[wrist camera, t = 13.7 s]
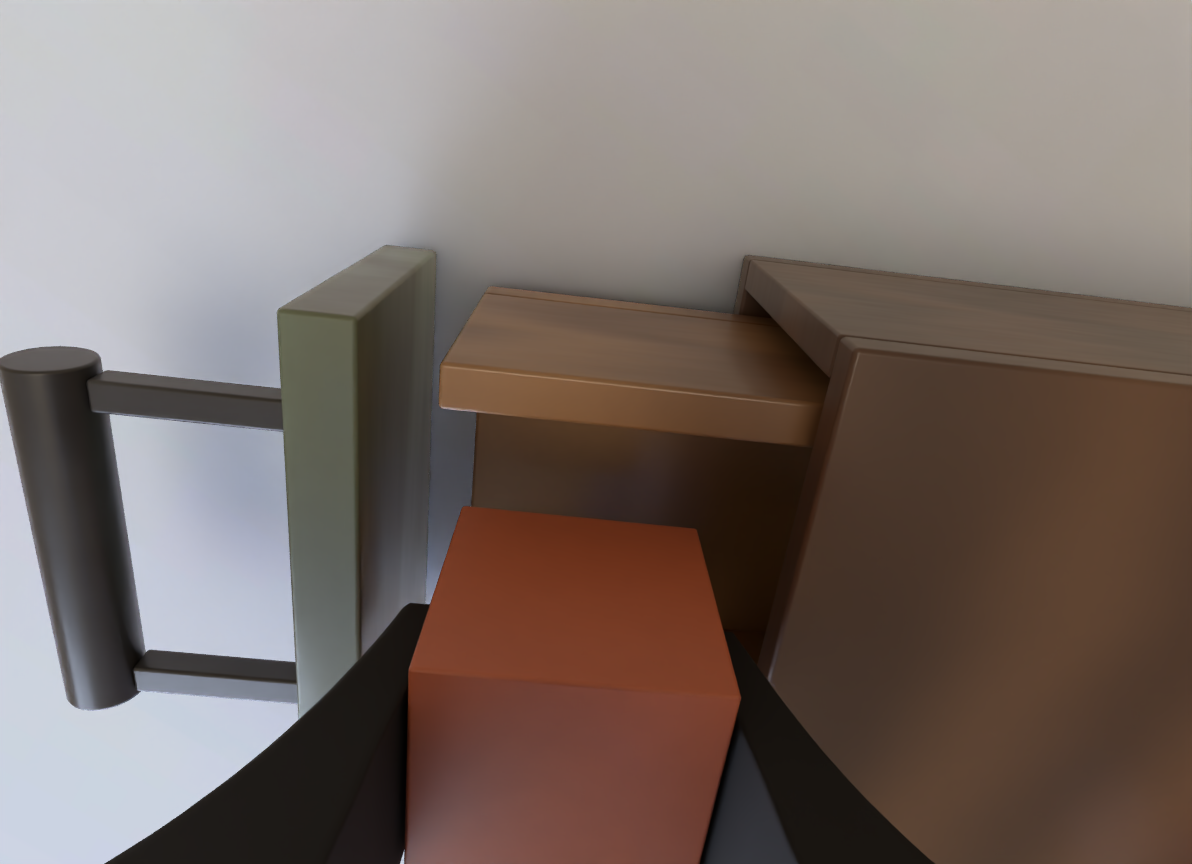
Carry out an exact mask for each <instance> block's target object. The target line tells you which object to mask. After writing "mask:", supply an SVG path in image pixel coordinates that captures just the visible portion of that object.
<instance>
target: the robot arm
mask: <svg viewBox="0 0 1192 864" xmlns="http://www.w3.org/2000/svg"><path fill="white" fill-rule="evenodd" d="M429 606H430V604H419V603H409V604H407V605H406V606H405V607H403V608H402V609H401V611H400V612H399V613H398V614H397V616H396V617H395V618H394V619H393V621H392V622H391V623H390V624H389V626H388V627H387V628H386V629H385V630H384V632H383V633H382V634H381V635H380V636H379V637H378V639H377V640H376V641H375V642H374V643H373V644H372V645H371V647H370V648H369V649H368V650H367V651H366V652H365V653H364V654H363V656H362V657H361V658H360V659H359V660H358V661H357V662H356V663H355V664H354V665H353V666H352V667H351V668H350V669H349V670H348V671H347V673H346V674H345V675H344V676H343V677H342V678H341V679H340V680H339V681H338V682H337V683H336V684H335V685H334V686H333V687H332V688H331V689H330V690H329V691H328V692H327V693H326V694H325V695H324V696H323V697H322V698H321V699H320V700H319V701H318V702H317V703H316V704H315V705H314V706H313V707H312V708H310V709H309V710H308V711H307V712H306V713H305V714H304V715H303V716H302V717H301V718H300V719H299V720H298V721H297V722H296V723H295V724H293V725H292V726H291V727H290V728H289V729H288V730H287V731H286V732H285V733H284V734H283V735H281V736H280V737H279V738H278V739H277V740H276V741H274V742H273V743H272V744H271V745H270V746H269V747H268V748H266V749H265V750H264V751H263V752H262V753H260V754H259V755H258V756H257V757H256V758H254V759H253V760H252V761H251V762H249V763H248V764H247V765H246V766H244V767H243V768H242V769H241V770H239V771H238V772H237V773H236V774H234V775H233V776H232V777H231V778H229V779H228V780H227V781H225V782H224V783H223V784H221V785H220V786H219V787H217V788H216V789H215V790H213V791H212V792H211V793H209V794H208V795H206V796H205V797H204V798H202V799H201V800H200V801H198V802H197V803H196V804H194V805H193V806H191V807H190V808H189V809H187V810H186V811H185V812H183V813H182V814H180V815H179V816H178V817H176V818H175V819H173V820H172V821H170V822H169V823H167V824H166V825H165V826H163V827H162V828H160V829H159V830H157V831H156V832H154V833H153V834H151V835H150V836H148V837H146V838H145V839H143V840H142V841H140V842H138V843H137V844H135V845H134V846H132V847H130V848H129V849H127V850H126V851H124V852H122V853H121V854H119V855H118V856H116V857H115V858H113V859H111V860H110V861H108V862H107V863H105V864H400V861H401V858H402V855H403V852H404V849H405V809H406V763H407V718H408V672H409V667H410V664H411V660H412V657H413V654H414V651H415V648H416V645H417V642H418V639H419V636H420V633H421V630H422V627H423V624H424V621H425V618H426V615H427V612H428V609H429ZM724 635H725V639H726V642H727V646H728V650H729V654H730V658H731V661H732V665H733V669H734V673H735V676H736V680H737V684H738V688H739V692H740V695H741V701H740V705H739V709H738V713H737V717H736V721H735V725H734V729H733V733H732V737H731V741H730V745H729V749H728V753H727V757H726V761H725V765H724V769H723V773H722V777H721V781H720V785H719V789H718V793H717V797H716V801H715V805H714V809H713V813H712V817H711V821H710V825H709V829H708V833H707V836H706V840H705V844H704V848H703V852H702V856H701V860H700V864H935V863H934V862H932V861H931V860H930V859H929V858H928V857H927V856H926V855H924V854H923V853H922V852H921V851H920V850H919V849H918V848H917V847H916V846H915V845H914V844H912V843H911V842H910V841H909V840H908V839H907V838H906V837H905V836H904V835H903V834H902V833H901V832H900V831H899V830H898V829H897V828H896V827H895V826H894V825H892V824H891V823H890V822H889V821H888V820H887V819H886V818H885V817H884V816H883V815H882V814H881V813H880V812H879V811H878V810H877V809H876V808H875V807H874V806H873V805H872V804H871V803H870V802H869V801H868V800H867V799H866V798H865V797H864V796H863V795H862V794H861V793H860V792H859V790H858V789H857V788H856V787H855V786H854V785H853V784H852V783H851V782H850V781H849V780H848V779H847V778H846V776H845V775H844V774H843V773H842V772H841V771H840V770H839V769H838V767H837V766H836V765H835V764H834V763H833V762H832V761H831V760H830V758H829V757H828V756H827V755H826V754H825V753H824V752H823V750H822V749H821V748H820V747H819V746H818V744H817V743H816V742H815V741H814V740H813V738H812V737H811V736H810V735H809V733H808V732H807V731H806V730H805V728H804V727H803V726H802V725H801V723H800V722H799V721H798V720H797V718H796V717H795V716H794V714H793V713H792V712H791V711H790V709H789V708H788V707H787V706H786V704H785V703H784V702H783V700H782V699H781V698H780V696H779V695H778V694H777V692H776V691H775V690H774V688H773V687H772V686H771V684H770V683H769V681H768V680H767V679H766V677H765V676H764V675H763V673H762V672H761V671H760V669H759V668H758V666H757V665H756V664H755V662H754V661H753V659H752V658H751V657H750V655H749V654H748V652H747V651H746V650H745V648H744V647H743V645H742V644H741V643H740V641H739V640H738V639H737V637H736V636H735V635H734V633H733V632H726V631H724Z"/></svg>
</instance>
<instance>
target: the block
mask: <svg viewBox="0 0 1192 864" xmlns="http://www.w3.org/2000/svg"><path fill="white" fill-rule="evenodd" d="M740 701H741V695H740V692H739V688H738V684H737V680H736V676H735V673H734V669H733V665H732V661H731V658H730V654H729V650H728V646H727V642H726V639H725V635H724V631H723V627H722V623H721V620H720V616H719V612H718V608H717V605H716V601H715V597H714V593H713V589H712V586H711V582H710V578H709V574H708V570H707V567H706V563H705V559H704V555H703V552H702V548H701V544H700V540H699V536H698V533H697V530H696V529H694V528H683V527H673V526H663V525H653V524H643V523H633V522H623V521H612V520H602V519H592V518H582V517H572V516H562V515H552V514H541V513H531V512H521V511H511V510H501V509H491V508H481V507H470V506H463V507H462V509H461V512H460V515H459V518H458V521H457V524H456V527H455V530H454V533H453V536H452V539H451V543H450V546H449V549H448V552H447V555H446V558H445V561H444V564H443V567H442V570H441V573H440V576H439V579H438V582H437V585H436V588H435V591H434V594H433V597H432V600H431V603H430V606H429V609H428V612H427V615H426V618H425V621H424V624H423V627H422V630H421V633H420V636H419V639H418V642H417V645H416V648H415V651H414V654H413V657H412V660H411V664H410V667H409V672H408V718H407V763H406V809H405V854H404V864H700V860H701V856H702V852H703V848H704V844H705V840H706V836H707V833H708V829H709V825H710V821H711V817H712V813H713V809H714V805H715V801H716V797H717V793H718V789H719V785H720V781H721V777H722V773H723V769H724V765H725V761H726V757H727V753H728V749H729V745H730V741H731V737H732V733H733V729H734V725H735V721H736V717H737V713H738V709H739V705H740Z"/></svg>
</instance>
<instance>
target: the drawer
mask: <svg viewBox="0 0 1192 864" xmlns="http://www.w3.org/2000/svg"><path fill="white" fill-rule="evenodd" d="M436 258H437V255H436V252H435V251H433V250H425V249H417V248H408V247H400V246H391V245H385V246H383V247H381V248H380V249H378V250H376V251H375V252H373V253H371V254H370V255H368V256H366V257H364V258H363V259H361V260H359V261H358V262H356V263H354V264H353V265H351V266H349V267H348V268H346V269H344V270H343V271H341V272H339V273H338V274H336V275H334V276H333V277H331V278H329V279H328V280H326V281H324V282H323V283H321V284H319V285H317V286H316V287H314V288H312V289H311V290H309V291H307V292H306V293H304V294H302V295H301V296H299V297H297V298H296V299H294V300H292V301H291V302H289V303H287V304H286V305H284V306H282V307H281V308H279V309H278V311H277V323H278V341H279V360H280V379H281V389H280V388H270V387H261V386H251V385H242V384H232V383H223V382H214V381H204V380H195V379H185V378H176V377H166V376H157V375H147V374H138V373H129V372H119V371H110V370H107V371H104V372H103V370H102V364H101V358H100V356H99V355H98V354H97V353H96V352H94V351H92V350H88V349H84V348H77V347H65V346H54V347H39V348H32V349H26V350H21V351H17V352H14V353H10V354H8V355H5V356H3V357H2V358H0V383H1V388H2V393H3V397H4V402H5V407H6V412H7V416H8V421H9V426H10V431H11V435H12V440H13V445H14V450H15V454H16V459H17V464H18V468H19V473H20V478H21V483H22V487H23V492H24V497H25V502H26V506H27V511H28V516H29V521H30V525H31V530H32V535H33V539H34V544H35V549H36V554H37V558H38V563H39V568H40V573H41V577H42V582H43V587H44V592H45V596H46V601H47V606H48V610H49V615H50V620H51V625H52V629H53V634H54V639H55V644H56V648H57V653H58V658H59V663H60V667H61V672H62V677H63V681H64V686H65V691H66V696H67V699H68V701H69V702H70V703H71V704H72V705H73V706H74V707H76V708H79V709H82V710H90V711H94V710H104V709H108V708H112V707H115V706H118V705H120V704H123V703H125V702H127V701H129V700H130V699H132V698H133V697H135V696H136V695H137V694H139V693H140V692H141V691H146V692H158V693H170V694H182V695H194V696H206V697H218V698H230V699H242V700H254V701H266V702H278V703H290V704H298V716H299V719H300V718H301V717H302V716H303V715H304V714H305V713H306V712H307V711H308V710H309V709H310V708H312V707H313V706H314V705H315V704H316V703H317V702H318V701H319V700H320V699H321V698H322V697H323V696H324V695H325V694H326V693H327V692H328V691H329V690H330V689H331V688H332V687H333V686H334V685H335V684H336V683H337V682H338V681H339V680H340V679H341V678H342V677H343V676H344V675H345V674H346V673H347V671H348V670H349V669H350V668H351V667H352V666H353V665H354V664H355V663H356V662H357V661H358V660H359V659H360V658H361V657H362V656H363V654H364V653H365V652H366V651H367V650H368V649H369V648H370V647H371V645H372V644H373V643H374V642H375V641H376V640H377V639H378V637H379V636H380V635H381V634H382V633H383V632H384V630H385V629H386V628H387V627H388V626H389V624H390V623H391V622H392V621H393V619H394V618H395V617H396V616H397V614H398V613H399V612H400V611H401V609H402V608H403V607H405V606H406V605H407V604H409V603H419V604H425V601H426V570H427V538H428V507H429V476H430V445H431V414H432V382H433V351H434V320H435V289H436ZM829 382H830V378H829V377H828V376H827V375H826V374H825V373H824V372H823V371H822V370H821V369H820V368H819V367H818V366H817V365H816V364H815V363H814V361H813V360H812V359H811V358H810V357H809V356H808V355H807V354H806V353H805V352H804V351H803V350H802V349H801V348H800V347H799V346H798V344H797V343H796V342H795V341H794V340H793V339H792V338H791V337H790V336H789V335H788V334H787V333H786V332H785V331H784V330H783V329H782V327H781V326H780V325H779V324H778V323H777V322H776V321H775V320H774V319H772V318H764V317H755V316H746V315H738V314H729V313H720V312H712V311H703V310H694V309H685V308H677V307H668V306H659V305H651V304H642V303H633V302H625V301H616V300H607V299H598V298H590V297H581V296H572V295H564V294H555V293H546V292H538V291H529V290H520V289H511V288H503V287H494V286H490V287H488V288H487V290H486V291H485V293H484V294H483V296H482V298H481V299H480V301H479V302H478V304H477V306H476V307H475V309H474V311H473V312H472V314H471V315H470V317H469V319H468V320H467V322H466V323H465V325H464V327H463V328H462V330H461V332H460V333H459V335H458V336H457V338H456V340H455V341H454V343H453V344H452V346H451V348H450V349H449V351H448V352H447V354H446V356H445V357H444V359H443V361H442V362H441V364H440V377H439V406H440V408H442V409H450V410H460V411H469V412H476V429H475V446H474V463H473V481H472V498H471V507H481V508H491V509H501V510H511V511H521V512H531V513H541V514H552V515H562V516H572V517H582V518H592V519H602V520H612V521H623V522H633V523H643V524H653V525H663V526H673V527H683V528H694V529H696V530H697V533H698V536H699V540H700V544H701V548H702V552H703V555H704V559H705V563H706V567H707V570H708V574H709V578H710V582H711V586H712V589H713V593H714V597H715V601H716V605H717V608H718V612H719V616H720V620H721V623H722V627H723V631H726V632H733V633H734V635H735V636H736V637H737V639H738V640H739V641H740V643H741V644H742V645H743V647H744V648H745V650H746V651H747V652H748V654H749V655H750V657H751V658H752V659H753V661H754V662H755V664H756V665H757V664H758V660H759V656H760V652H761V648H762V644H763V640H764V636H765V632H766V628H767V624H768V621H769V617H770V613H771V609H772V605H773V601H774V597H775V593H776V589H777V585H778V581H779V578H780V574H781V570H782V566H783V562H784V558H785V554H786V550H787V546H788V542H789V538H790V534H791V531H792V527H793V523H794V519H795V515H796V511H797V507H798V503H799V499H800V495H801V491H802V488H803V484H804V480H805V476H806V472H807V468H808V464H809V460H810V456H811V452H812V448H813V444H814V441H815V437H816V433H817V429H818V425H819V421H820V417H821V413H822V409H823V405H824V401H825V398H826V394H827V390H828V386H829ZM109 414H115V415H125V416H135V417H145V418H154V419H164V420H174V421H183V422H193V423H203V424H213V425H222V426H232V427H242V428H252V429H261V430H271V431H281V432H283V435H284V454H285V472H286V491H287V510H288V529H289V547H290V566H291V585H292V603H293V622H294V641H295V660H296V662H287V661H275V660H264V659H252V658H241V657H229V656H218V655H206V654H194V653H183V652H171V651H160V650H148V651H147V652H145V645H144V639H143V632H142V626H141V619H140V613H139V606H138V599H137V593H136V586H135V580H134V573H133V567H132V560H131V554H130V547H129V541H128V534H127V527H126V521H125V514H124V508H123V501H122V495H121V488H120V482H119V475H118V469H117V462H116V455H115V449H114V442H113V436H112V429H111V423H110V416H109Z"/></svg>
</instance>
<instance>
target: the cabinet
mask: <svg viewBox="0 0 1192 864" xmlns="http://www.w3.org/2000/svg"><path fill="white" fill-rule="evenodd" d="M733 314H738V315H746V316H755V317H764V318H772V319H774V320H775V321H776V322H777V323H778V324H779V325H780V326H781V327H782V329H783V330H784V331H785V332H786V333H787V334H788V335H789V336H790V337H791V338H792V339H793V340H794V341H795V342H796V343H797V344H798V346H799V347H800V348H801V349H802V350H803V351H804V352H805V353H806V354H807V355H808V356H809V357H810V358H811V359H812V360H813V361H814V363H815V364H816V365H817V366H818V367H819V368H820V369H821V370H822V371H823V372H824V373H825V374H826V375H827V376H828V377H829V378H830V382H829V386H828V390H827V394H826V398H825V401H824V405H823V409H822V413H821V417H820V421H819V425H818V429H817V433H816V437H815V441H814V444H813V448H812V452H811V456H810V460H809V464H808V468H807V472H806V476H805V480H804V484H803V488H802V491H801V495H800V499H799V503H798V507H797V511H796V515H795V519H794V523H793V527H792V531H791V534H790V538H789V542H788V546H787V550H786V554H785V558H784V562H783V566H782V570H781V574H780V578H779V581H778V585H777V589H776V593H775V597H774V601H773V605H772V609H771V613H770V617H769V621H768V624H767V628H766V632H765V636H764V640H763V644H762V648H761V652H760V656H759V660H758V664H757V666H758V668H759V669H760V671H761V672H762V673H763V675H764V676H765V677H766V679H767V680H768V681H769V683H770V684H771V686H772V687H773V688H774V690H775V691H776V692H777V694H778V695H779V696H780V698H781V699H782V700H783V702H784V703H785V704H786V706H787V707H788V708H789V709H790V711H791V712H792V713H793V714H794V716H795V717H796V718H797V720H798V721H799V722H800V723H801V725H802V726H803V727H804V728H805V730H806V731H807V732H808V733H809V735H810V736H811V737H812V738H813V740H814V741H815V742H816V743H817V744H818V746H819V747H820V748H821V749H822V750H823V752H824V753H825V754H826V755H827V756H828V757H829V758H830V760H831V761H832V762H833V763H834V764H835V765H836V766H837V767H838V769H839V770H840V771H841V772H842V773H843V774H844V775H845V776H846V778H847V779H848V780H849V781H850V782H851V783H852V784H853V785H854V786H855V787H856V788H857V789H858V790H859V792H860V793H861V794H862V795H863V796H864V797H865V798H866V799H867V800H868V801H869V802H870V803H871V804H872V805H873V806H874V807H875V808H876V809H877V810H878V811H879V812H880V813H881V814H882V815H883V816H884V817H885V818H886V819H887V820H888V821H889V822H890V823H891V824H892V825H894V826H895V827H896V828H897V829H898V830H899V831H900V832H901V833H902V834H903V835H904V836H905V837H906V838H907V839H908V840H909V841H910V842H911V843H912V844H914V845H915V846H916V847H917V848H918V849H919V850H920V851H921V852H922V853H923V854H924V855H926V856H927V857H928V858H929V859H930V860H931V861H932V862H934V863H935V864H1192V308H1187V307H1179V306H1170V305H1162V304H1153V303H1145V302H1137V301H1128V300H1120V299H1112V298H1103V297H1095V296H1086V295H1078V294H1070V293H1061V292H1053V291H1045V290H1036V289H1028V288H1020V287H1011V286H1003V285H994V284H986V283H978V282H969V281H961V280H953V279H944V278H936V277H927V276H919V275H911V274H902V273H894V272H886V271H877V270H869V269H860V268H852V267H844V266H835V265H827V264H819V263H810V262H802V261H793V260H785V259H777V258H768V257H760V256H752V255H747V256H745V258H744V262H743V267H742V272H741V277H740V282H739V287H738V292H737V298H736V303H735V308H734V313H733Z"/></svg>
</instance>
